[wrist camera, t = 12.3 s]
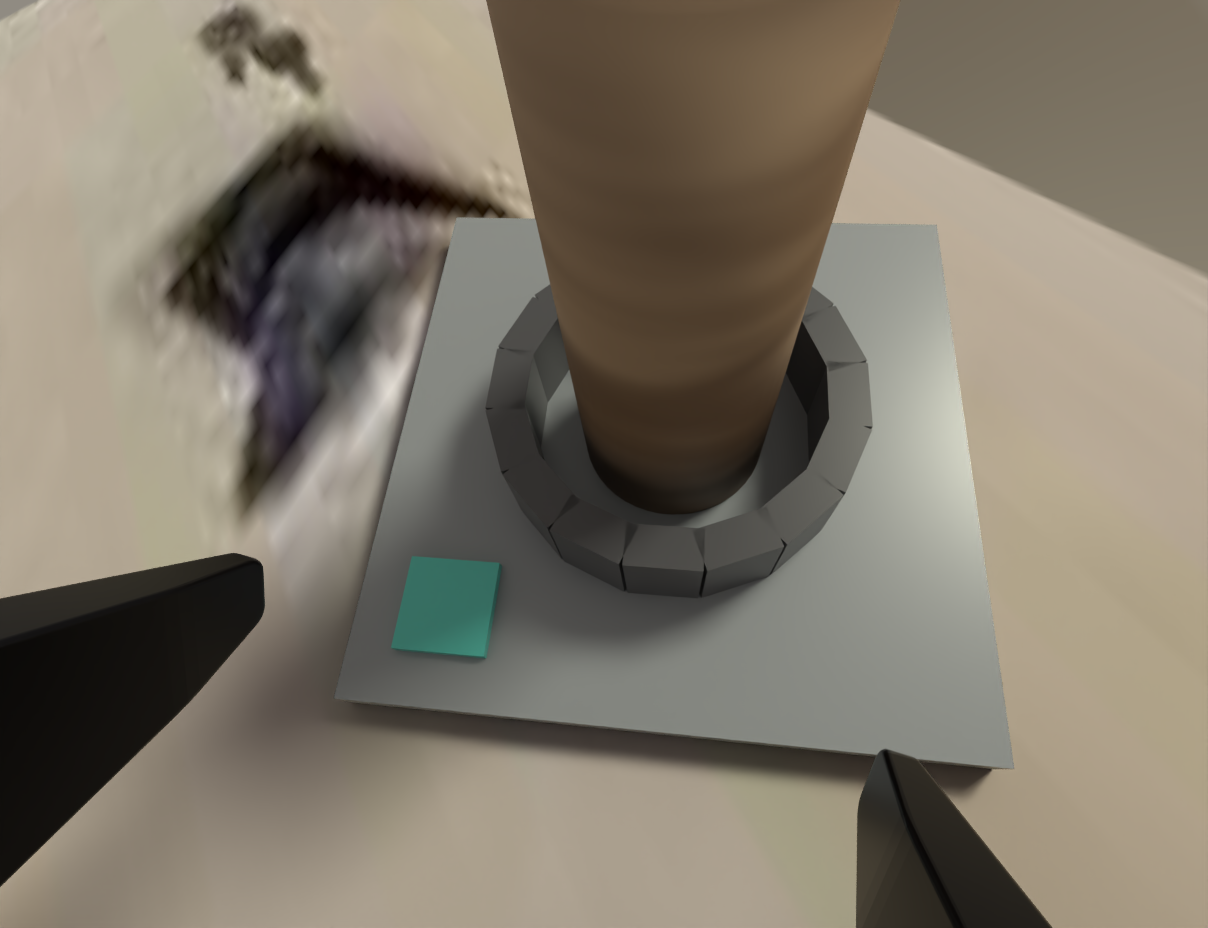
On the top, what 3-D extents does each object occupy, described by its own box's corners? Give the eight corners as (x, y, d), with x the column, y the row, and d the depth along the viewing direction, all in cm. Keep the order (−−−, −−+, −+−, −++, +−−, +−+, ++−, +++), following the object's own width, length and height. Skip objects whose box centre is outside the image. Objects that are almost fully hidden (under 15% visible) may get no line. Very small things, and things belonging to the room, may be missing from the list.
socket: (993, 769, 16) (1077, 768, 12) (350, 702, 17) (281, 686, 14) (925, 247, 22) (969, 159, 19) (464, 238, 24) (434, 157, 21)
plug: (686, 551, 17) (740, 86, 6) (550, 443, 19) (375, -88, 7) (797, 421, 19) (1025, -169, 7) (661, 331, 20) (662, -266, 9)
